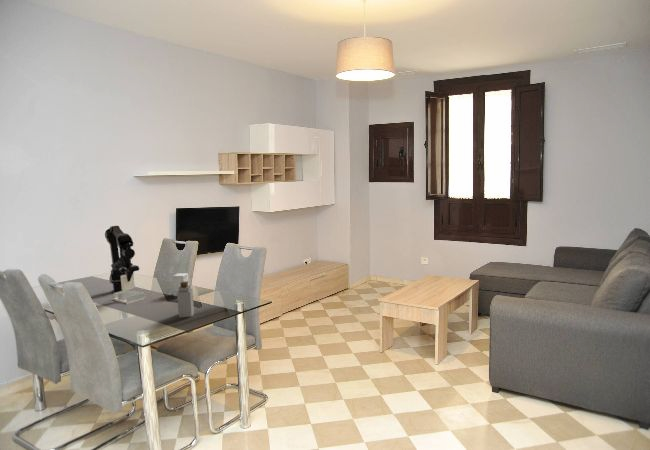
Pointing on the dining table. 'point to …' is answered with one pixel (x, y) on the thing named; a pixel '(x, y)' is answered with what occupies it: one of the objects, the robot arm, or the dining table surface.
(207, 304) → the dining table surface
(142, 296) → the rack
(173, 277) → the supplement box
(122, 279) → the cream rectangular tile
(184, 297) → the perfume bottle
